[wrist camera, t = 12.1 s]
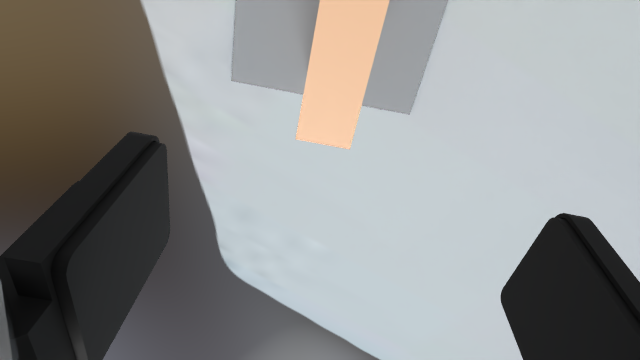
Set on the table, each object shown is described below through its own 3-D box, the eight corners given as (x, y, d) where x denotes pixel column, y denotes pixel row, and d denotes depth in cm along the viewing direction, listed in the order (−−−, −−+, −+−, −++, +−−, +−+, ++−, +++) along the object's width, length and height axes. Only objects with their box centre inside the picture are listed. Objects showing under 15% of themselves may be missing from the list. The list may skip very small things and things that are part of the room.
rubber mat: (461, -44, 25) (462, -44, 25) (408, 112, 31) (409, 114, 31) (242, -92, 24) (241, -92, 24) (232, 79, 30) (231, 81, 30)
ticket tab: (374, -34, 25) (392, -9, 17) (346, 84, 30) (349, 149, 22) (328, -44, 25) (323, -24, 17) (307, 76, 30) (295, 139, 21)
